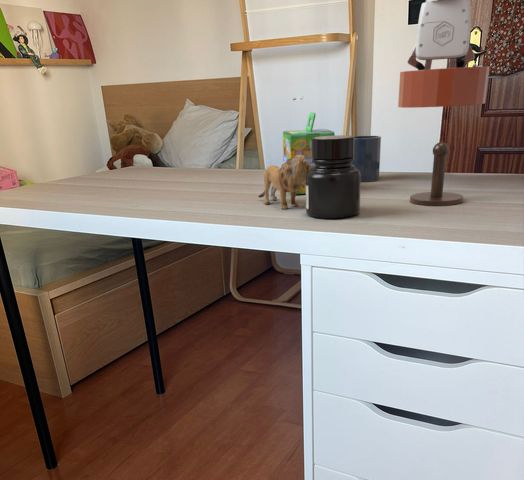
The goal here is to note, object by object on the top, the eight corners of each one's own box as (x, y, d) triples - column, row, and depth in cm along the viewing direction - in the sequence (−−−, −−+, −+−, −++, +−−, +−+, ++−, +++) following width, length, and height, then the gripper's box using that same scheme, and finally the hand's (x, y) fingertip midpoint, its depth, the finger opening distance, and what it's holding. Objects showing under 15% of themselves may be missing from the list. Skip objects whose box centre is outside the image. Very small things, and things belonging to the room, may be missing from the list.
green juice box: (283, 188, 114) (280, 113, 107) (325, 185, 115) (325, 111, 108) (290, 195, 106) (287, 115, 99) (335, 192, 106) (335, 112, 100)
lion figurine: (318, 207, 94) (318, 154, 90) (295, 212, 91) (293, 157, 87) (269, 198, 105) (267, 150, 101) (247, 202, 102) (244, 152, 98)
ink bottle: (331, 206, 94) (332, 134, 89) (371, 211, 88) (375, 134, 83) (293, 215, 88) (291, 139, 83) (333, 222, 82) (334, 140, 77)
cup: (379, 176, 122) (381, 135, 118) (378, 181, 116) (380, 138, 112) (347, 177, 124) (347, 136, 120) (343, 182, 118) (344, 139, 114)
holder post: (460, 196, 97) (466, 138, 92) (465, 205, 89) (472, 143, 85) (409, 196, 99) (413, 140, 94) (409, 206, 91) (414, 145, 87)
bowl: (474, 101, 111) (478, 68, 109) (490, 104, 91) (495, 65, 89) (398, 104, 115) (400, 73, 112) (397, 108, 95) (400, 71, 92)
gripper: (402, -6, 101) (397, 100, 109) (494, -14, 98) (480, 96, 106) (403, 0, 108) (397, 99, 116) (488, -8, 104) (476, 95, 112)
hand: (437, 96), depth 111 cm, fingers closed on bowl, 3 cm apart
